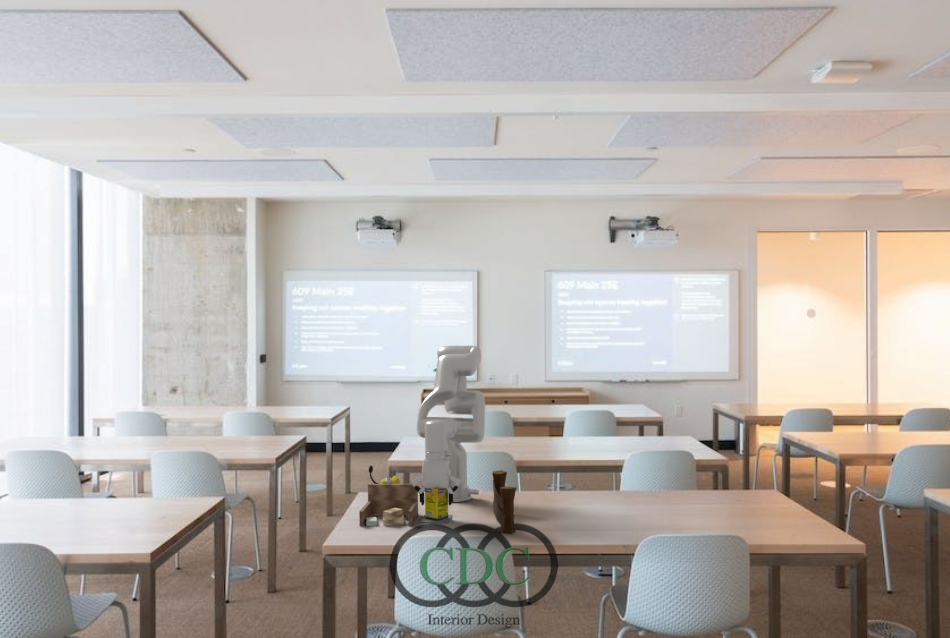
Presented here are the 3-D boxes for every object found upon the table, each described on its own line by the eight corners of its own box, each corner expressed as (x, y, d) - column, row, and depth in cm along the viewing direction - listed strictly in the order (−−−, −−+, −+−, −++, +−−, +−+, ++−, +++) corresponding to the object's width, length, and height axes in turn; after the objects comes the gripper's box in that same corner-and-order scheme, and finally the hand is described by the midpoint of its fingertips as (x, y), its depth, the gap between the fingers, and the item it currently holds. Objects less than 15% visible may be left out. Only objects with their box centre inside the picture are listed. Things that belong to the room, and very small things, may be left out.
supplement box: (437, 521, 260) (437, 489, 260) (424, 518, 264) (424, 487, 264) (448, 517, 265) (448, 486, 265) (435, 515, 268) (435, 484, 269)
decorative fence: (490, 510, 276) (490, 469, 276) (506, 510, 276) (506, 469, 276) (500, 536, 242) (500, 490, 242) (518, 536, 242) (518, 489, 243)
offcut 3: (403, 522, 262) (403, 515, 262) (403, 525, 258) (403, 518, 258) (382, 523, 261) (382, 516, 261) (383, 526, 257) (383, 519, 257)
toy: (408, 470, 288) (369, 467, 287) (403, 507, 288) (364, 503, 286) (407, 467, 295) (369, 464, 293) (403, 503, 294) (364, 500, 292)
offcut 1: (376, 522, 262) (376, 516, 262) (377, 526, 257) (376, 520, 257) (366, 523, 262) (366, 517, 262) (366, 527, 257) (366, 521, 257)
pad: (452, 515, 269) (452, 514, 269) (449, 523, 259) (449, 521, 259) (424, 515, 269) (424, 514, 269) (420, 523, 259) (420, 521, 259)
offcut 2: (395, 514, 263) (395, 507, 263) (402, 516, 261) (402, 509, 261) (383, 518, 258) (383, 511, 258) (390, 520, 256) (390, 512, 256)
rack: (418, 514, 272) (417, 483, 272) (411, 526, 256) (411, 493, 256) (368, 514, 273) (368, 483, 273) (359, 526, 257) (359, 493, 257)
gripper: (461, 453, 268) (461, 502, 267) (412, 454, 269) (413, 502, 268) (459, 457, 260) (460, 507, 260) (409, 457, 261) (410, 507, 261)
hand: (436, 504), depth 264 cm, fingers open, 9 cm apart
